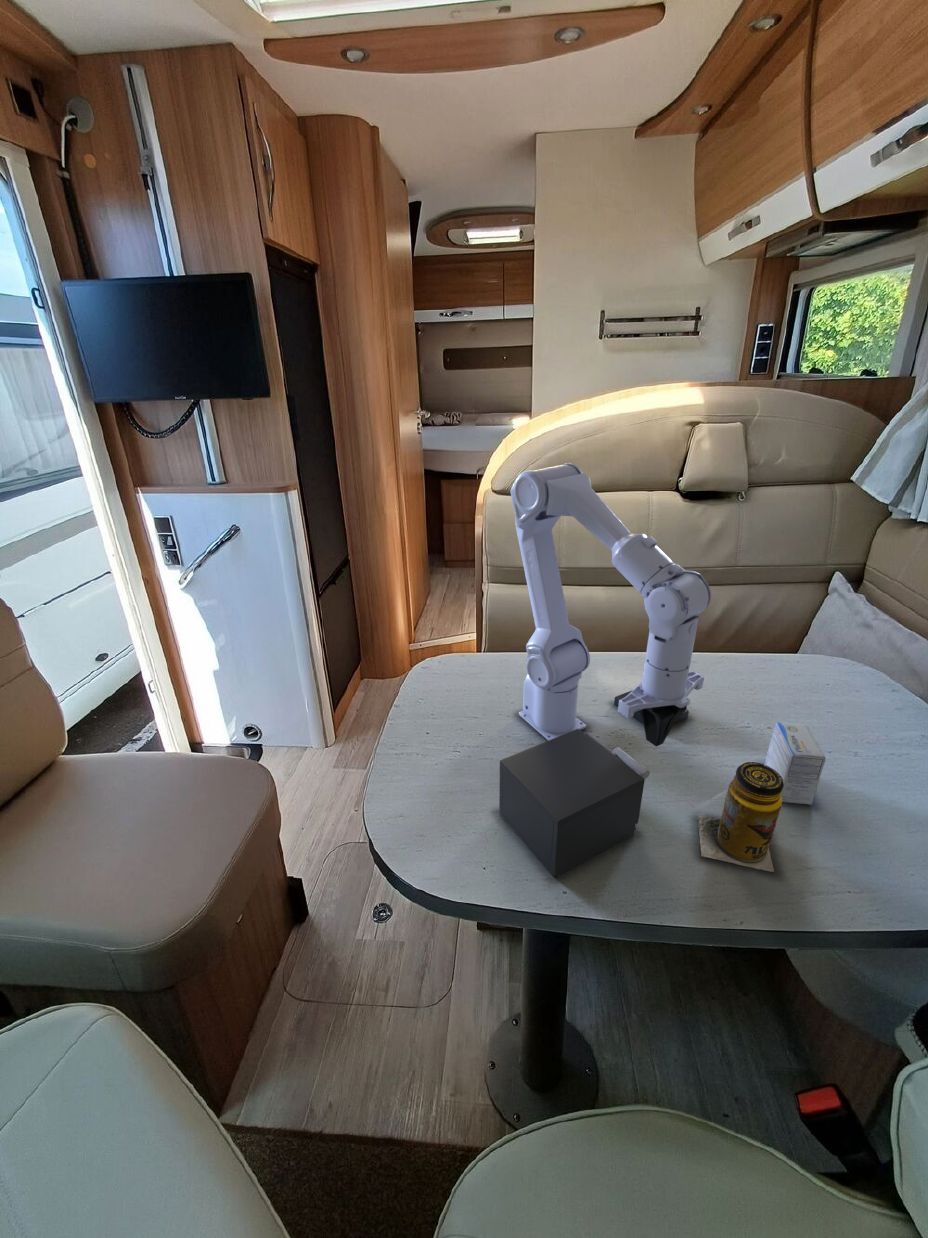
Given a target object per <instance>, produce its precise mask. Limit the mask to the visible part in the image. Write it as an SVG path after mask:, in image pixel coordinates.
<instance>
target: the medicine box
mask: <svg viewBox="0 0 928 1238" xmlns="http://www.w3.org/2000/svg"><path fill="white" fill-rule="evenodd" d="M825 763H826V756H825V754H824V752H823V751H822V749H821V748H820V746H819V744H818V742H817V740H816V739H815V737H814V735H813V734H812V732H811V730H810V728H809V727H808V725H807V724H803V723H793V722H780V721H779V722H778V721H777V722H775V724H774V727H773V729H772V735H771V739H770V742H769V746H768V750H767V753H766V758H765V762H764V765H767V766H769V767H771V768H772V769H774V770H775V771H777V772H778V773H779V775H780V776H781V777H782V779H783V784H784V787H783V789H782V793H781V798H782V803H788V804H789V803H790V804H799V805H800V804H802V805H808V806H809V805H810V806H811V805H812V804H813V802H814V799H815V795H816V792H817V788H818V786H819V783H820V778H821V776H822V773H823V769H824V766H825Z"/></svg>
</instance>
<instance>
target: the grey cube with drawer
mask: <svg viewBox="0 0 928 1238" xmlns="http://www.w3.org/2000/svg"><path fill="white" fill-rule="evenodd" d="M585 734H586V733H584V732H583V731H582V730H579V729H576V730H573V731H571V732H568V733H566V734H563V735H561V736H559V737H556V738H554V739H551V740H549V741H548V740H546V741H544V742H541V743H540V744H539V743H538V744H537V745H534V746H531V747H529V748H527V749H524V750H521V751H520V752H517V753H514V754H512V755H510V756H508V757H505V758H502V759H500V760H499V799H498V800H499V807H498V809H499V815H500V816H501V817H502V819H504V821H505V822H506V823H507V824H508V825H509V827H510V828H511V829H512V830H513V832H515V834H516V835H517V836H518V837H519V838H520V840H521V842H522V843H524V845H525V846H526V847H527V848H528V849H529V850H530V851H531V853H532V854H533V855H534V856H535V857H536V859H537V860H538V861H539V862H540V864H541V865H542V866H543V867H544V868H545V869H546V870H547V872H548V873H549V874H550V875H551V876H552V877H553V878H554V879H555V878H557V877H559V876H561V875H563V874H565V873H566V872H568V871H570V870H572V869H574V868H576V867H577V866H579V865H581V864H583V863H585V862H587V861H589V860H590V859H592V858H594V857H596V856H598V855H600V854H601V853H603V852H605V851H607V850H609V849H611V848H612V847H614V846H616V845H618V844H620V843H622V842H623V841H625V840H627V839H628V838H631V837H633V836H634V835H635V831H636V825H637V824H636V819H637V813H638V806H639V800H640V793H641V786H642V785H641V784H642V779H641V778H639V777H638V776H637V775H636V774H634V773H633V772H632V771H631V770H629V769H628V768H627V767H626V766H624V765H623V764H622V763H621V762H619V761H618V760H617V759H616V758H614V757H613V756H612V755H611V754H609V753H608V752H607V751H605V750H604V749H603V748H602V747H600V746H599V745H598V744H597V743H595V742H594V741H593V740H592V739H590V738H589V737H588V736H587V735H585Z"/></svg>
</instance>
